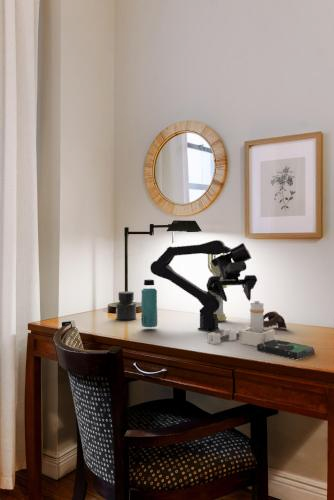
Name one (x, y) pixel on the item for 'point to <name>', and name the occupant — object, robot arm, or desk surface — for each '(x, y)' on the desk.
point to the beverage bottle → (149, 305)
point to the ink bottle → (126, 306)
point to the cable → (226, 337)
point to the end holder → (255, 337)
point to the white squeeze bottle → (256, 317)
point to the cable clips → (226, 332)
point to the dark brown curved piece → (274, 320)
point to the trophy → (216, 272)
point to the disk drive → (285, 349)
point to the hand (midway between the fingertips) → (238, 300)
